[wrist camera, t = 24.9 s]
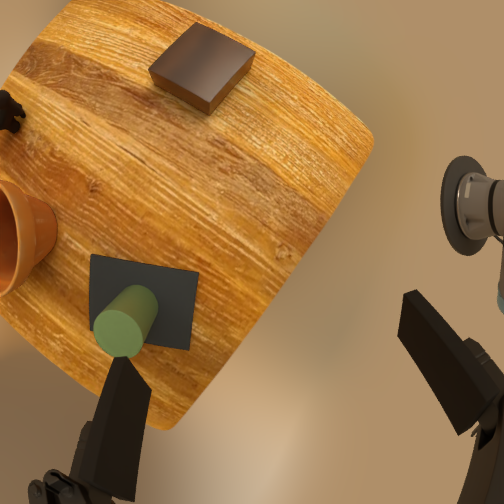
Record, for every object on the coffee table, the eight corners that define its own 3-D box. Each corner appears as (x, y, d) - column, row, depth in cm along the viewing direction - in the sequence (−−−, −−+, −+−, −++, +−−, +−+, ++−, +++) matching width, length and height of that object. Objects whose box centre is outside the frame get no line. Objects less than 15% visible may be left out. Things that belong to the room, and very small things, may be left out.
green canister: (160, 288, 36) (144, 316, 26) (157, 327, 37) (142, 363, 27) (119, 281, 35) (92, 305, 25) (118, 320, 36) (94, 352, 26)
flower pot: (46, 292, 34) (0, 321, 21) (-1, 236, 31) (-50, 247, 18) (87, 222, 33) (37, 230, 21) (35, 166, 30) (-17, 156, 18)
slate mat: (198, 272, 37) (198, 273, 36) (189, 348, 38) (189, 350, 38) (92, 253, 34) (90, 254, 34) (91, 329, 36) (89, 330, 35)
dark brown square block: (250, 68, 33) (256, 51, 28) (209, 116, 34) (209, 103, 29) (197, 39, 31) (196, 21, 26) (154, 84, 32) (147, 69, 27)
